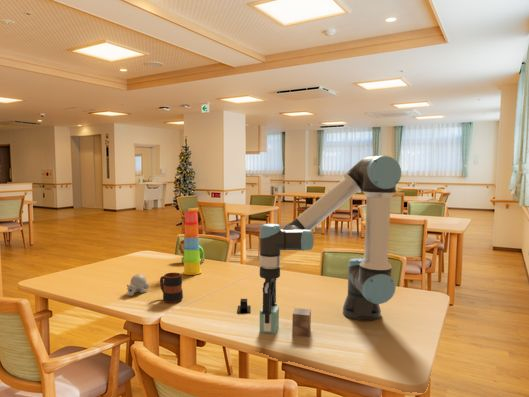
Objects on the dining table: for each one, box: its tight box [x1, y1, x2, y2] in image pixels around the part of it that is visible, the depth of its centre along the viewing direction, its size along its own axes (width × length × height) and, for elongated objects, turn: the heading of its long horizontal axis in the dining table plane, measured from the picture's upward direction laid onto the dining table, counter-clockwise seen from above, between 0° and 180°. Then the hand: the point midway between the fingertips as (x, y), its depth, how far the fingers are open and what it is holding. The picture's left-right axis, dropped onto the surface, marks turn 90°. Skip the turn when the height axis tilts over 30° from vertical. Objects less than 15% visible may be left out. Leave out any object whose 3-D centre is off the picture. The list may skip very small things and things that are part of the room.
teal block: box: [259, 305, 280, 335], centre depth 148 cm, size 6×6×8 cm
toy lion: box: [178, 239, 206, 264], centre depth 247 cm, size 16×5×15 cm, turn 80°
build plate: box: [236, 298, 252, 315], centre depth 168 cm, size 12×7×5 cm, turn 1°
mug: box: [159, 272, 184, 304], centre depth 179 cm, size 9×12×12 cm
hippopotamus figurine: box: [126, 274, 150, 297], centre depth 187 cm, size 7×12×8 cm, turn 155°
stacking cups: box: [182, 210, 202, 276], centre depth 222 cm, size 10×10×35 cm
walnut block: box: [291, 307, 312, 338], centre depth 145 cm, size 6×6×8 cm
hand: (269, 327), depth 148 cm, fingers closed on teal block, 6 cm apart
